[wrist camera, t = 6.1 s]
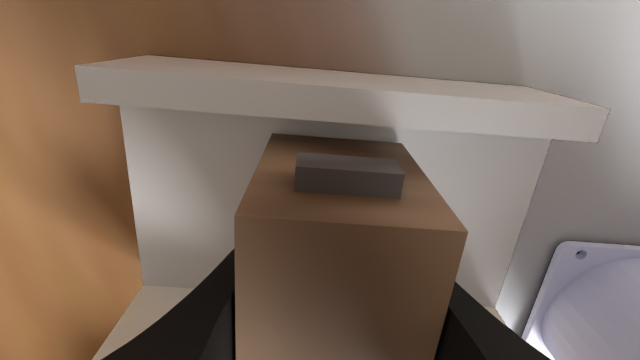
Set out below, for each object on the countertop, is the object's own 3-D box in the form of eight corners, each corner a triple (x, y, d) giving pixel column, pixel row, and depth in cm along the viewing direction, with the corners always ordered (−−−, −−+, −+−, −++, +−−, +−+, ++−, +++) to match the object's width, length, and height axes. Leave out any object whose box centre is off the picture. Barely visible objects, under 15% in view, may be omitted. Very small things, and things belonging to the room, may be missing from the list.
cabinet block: (404, 126, 12) (476, 204, 7) (377, 283, 15) (413, 435, 9) (272, 115, 12) (233, 186, 7) (267, 276, 15) (236, 426, 9)
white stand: (526, 86, 14) (694, 132, 8) (465, 295, 18) (544, 439, 12) (147, 54, 14) (-2, 76, 7) (169, 276, 18) (84, 415, 11)
